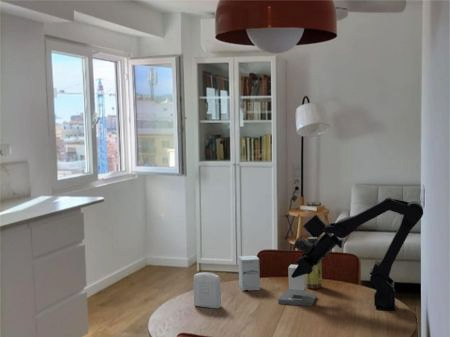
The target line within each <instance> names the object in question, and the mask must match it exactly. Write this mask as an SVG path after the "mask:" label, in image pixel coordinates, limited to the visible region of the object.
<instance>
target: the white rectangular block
mask: <svg viewBox="0 0 450 337" xmlns="http://www.w3.org/2000/svg"><path fill="white" fill-rule="evenodd" d="M297 266H298V264H290V265H289V266H288V269H287V270H288V272H287V273H288V276H287V277H288V292H289V294H291V295H304V294H305V293H307V286H306V274H304V275H301V276H298V277H295V278H292V277H291V275H292V274H293V272H294V271H295V269H296V268H297Z"/></svg>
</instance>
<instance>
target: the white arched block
mask: <svg viewBox="0 0 450 337" xmlns="http://www.w3.org/2000/svg"><path fill="white" fill-rule="evenodd" d="M221 283H222V280H221V277H220V275H218V274H215V273H213V272H208V271H207V272H206V271H205V272H203V271H202V272H198V273H194V275H193V305H194V306H195V307H202V308H211V309H220V308H221V307H222V292H221V291H222V290H221V289H222V287H221Z"/></svg>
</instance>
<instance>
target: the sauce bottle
mask: <svg viewBox="0 0 450 337" xmlns="http://www.w3.org/2000/svg"><path fill="white" fill-rule="evenodd" d="M318 240H319V237H318V238H317V237H316V238H315V237H314V238H313V237H312V236H309V237H307V241H308V242H310V243H312V244H313V243H314V242H317V241H318ZM314 265H315V264H314ZM322 269H323V268H322V260H321V261H319V263H318V264H317V265H315V266H314V270H313V271H312V272H311V273H310V274H309V275H308V274H306V288H308V289H311V290H312V289H314V290H315V289H321V287H322V286H323V285H322V284H323V279H322V277H323V274H322V271H323V270H322Z"/></svg>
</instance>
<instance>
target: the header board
mask: <svg viewBox="0 0 450 337" xmlns="http://www.w3.org/2000/svg"><path fill="white" fill-rule="evenodd" d="M316 299H317V293H311V292H306V293H305V294H304V295H291V294H289V291H284V292H283V293H282V294H281V295H280V297H279V298H278V304H280V305H293V306H306V307H312V306H313V304H314V303H315V301H316Z"/></svg>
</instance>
